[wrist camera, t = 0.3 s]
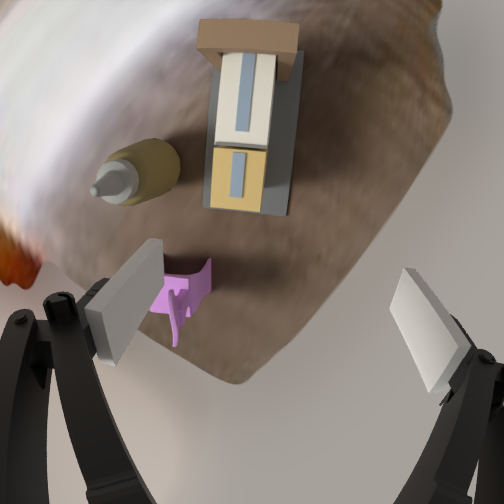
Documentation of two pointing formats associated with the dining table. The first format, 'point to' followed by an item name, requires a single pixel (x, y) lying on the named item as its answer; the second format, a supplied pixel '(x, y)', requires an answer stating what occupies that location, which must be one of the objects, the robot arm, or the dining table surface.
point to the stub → (238, 177)
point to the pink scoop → (182, 296)
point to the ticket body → (247, 74)
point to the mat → (278, 144)
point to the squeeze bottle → (137, 173)
